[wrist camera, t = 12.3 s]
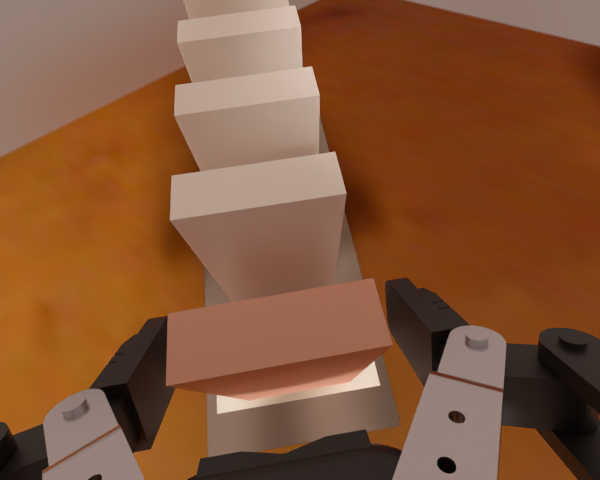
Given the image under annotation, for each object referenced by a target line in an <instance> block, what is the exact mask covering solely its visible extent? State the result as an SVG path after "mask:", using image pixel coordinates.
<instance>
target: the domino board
mask: <svg viewBox="0 0 600 480" xmlns="http://www.w3.org/2000/svg"><path fill="white" fill-rule="evenodd" d="M322 153H329V149H328V145H327V141H326V137H325V134H324V130H323V126H322V122H321V118H320V115H319V154H322ZM358 280H363V279H362V275H361V271H360V267H359V263H358V259H357V256H356V252H355V248H354V244H353V240H352V237H351V233H350V229H349V225H348V221H347V218H346V214H345V210H344V216H343V223H342V230H341V237H340V244H339V251H338V258H337V265H336V272H335V279H334V285H335V284H341V283H347V282H353V281H358ZM225 303H231V300H230V299H229V298H228V296H227V295H226V294H225V293H224V291H223V290H222V289H221V287H220V286H219V285H218V283H217V282H216V281H215V279H214V278H213V277H212V275H211V274H210V273H209V271H208V270H207V269H206V268H205V307H208V306H214V305H220V304H225ZM396 426H401V423H400V420H399V416H398V412H397V408H396V404H395V401H394V397H393V393H392V389H391V385H390V381H389V378H388V374H387V370H386V366H385V362H384V359H383V355H381V356H379V357H378V358H377V359H376V360H375V361H374V362H372V363H371V364H370V365H369V366H368V367H367V368H366V369H364V370H363V371H362V372H361V373H360V374H359V375H358V376H356V377H355V378H354V379H353V380H352V381H351V382H348V383H342V384H337V385H331V386H326V387H321V388H315V389H310V390H304V391H299V392H294V393H288V394H283V395H277V396H272V397H267V398H261V399H256V400H250V401H248V400H243V399H237V398H231V397H225V396H220V395H214V394H208V393H207V440H208V457H212V456H218V455H224V454H229V453H235V452H240V451H244V452H256V451H262V450H267V449H273V448H279V447H284V446H290V445H295V444H301V443H307V442H312V441H316V440H318V439H321V438H323V437H325V436H330V435H336V434H341V433H347V432H352V431H358V430H364V429H366V431H367V432H368V431H374V430H379V429H385V428H391V427H396Z"/></svg>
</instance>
